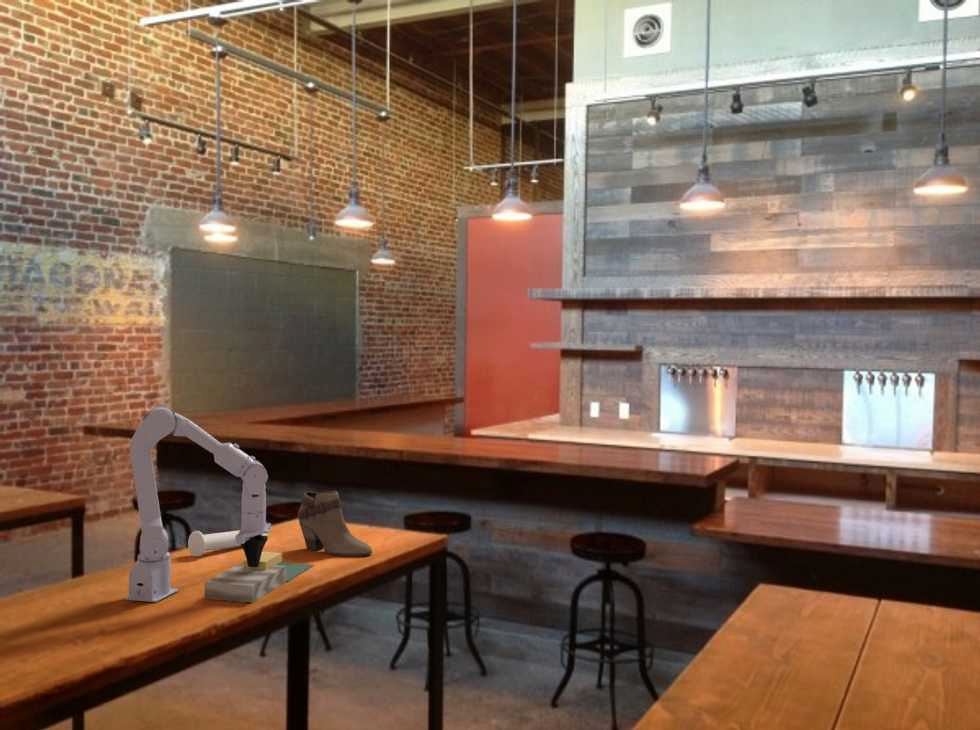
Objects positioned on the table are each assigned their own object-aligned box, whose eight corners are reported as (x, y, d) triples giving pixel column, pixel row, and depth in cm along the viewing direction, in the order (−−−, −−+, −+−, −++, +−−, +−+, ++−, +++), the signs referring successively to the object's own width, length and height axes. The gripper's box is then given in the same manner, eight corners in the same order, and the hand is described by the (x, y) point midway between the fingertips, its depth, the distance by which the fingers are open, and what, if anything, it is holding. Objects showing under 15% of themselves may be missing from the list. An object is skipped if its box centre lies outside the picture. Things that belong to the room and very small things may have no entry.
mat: (287, 582, 216) (287, 580, 216) (239, 578, 219) (239, 577, 219) (313, 565, 232) (313, 564, 232) (268, 562, 235) (268, 561, 235)
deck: (252, 603, 199) (252, 585, 199) (204, 599, 201) (204, 582, 201) (286, 581, 216) (286, 565, 216) (241, 578, 219) (241, 562, 219)
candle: (190, 527, 241) (262, 519, 261) (185, 551, 241) (257, 541, 262) (205, 536, 237) (277, 527, 257) (200, 561, 237) (272, 550, 258)
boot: (364, 559, 240) (365, 497, 240) (289, 551, 247) (290, 491, 247) (377, 552, 248) (378, 492, 247) (304, 544, 255) (305, 486, 255)
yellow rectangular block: (265, 570, 212) (265, 562, 212) (243, 568, 213) (243, 560, 213) (282, 560, 221) (282, 553, 221) (260, 559, 222) (260, 551, 222)
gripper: (255, 518, 203) (254, 575, 204) (282, 506, 218) (281, 560, 218) (227, 516, 205) (227, 573, 205) (256, 505, 219) (255, 558, 219)
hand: (253, 566), depth 212 cm, fingers closed
